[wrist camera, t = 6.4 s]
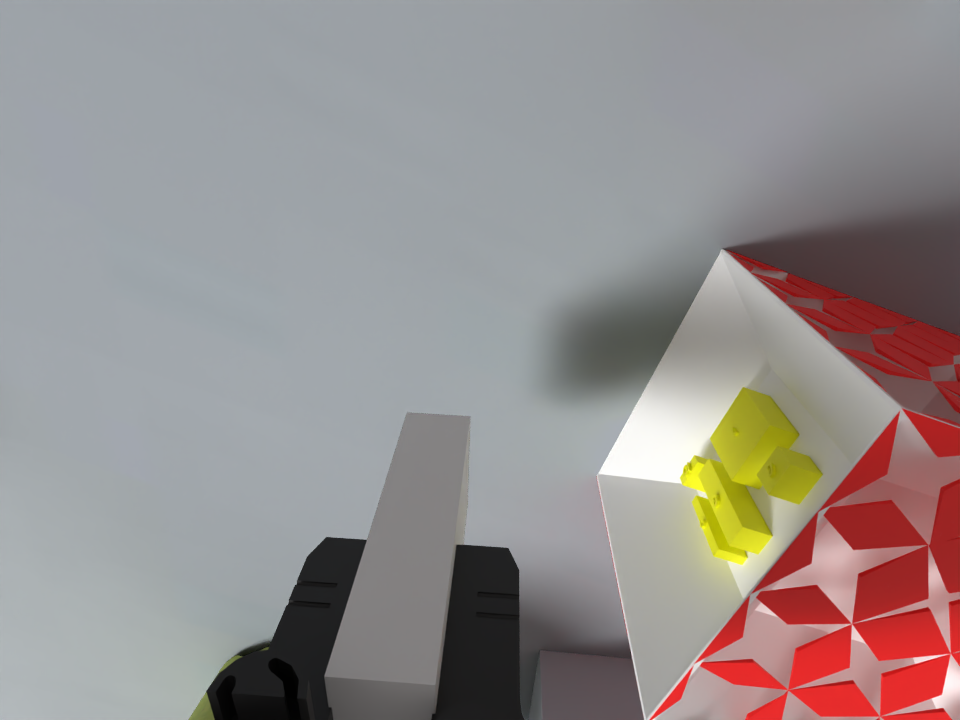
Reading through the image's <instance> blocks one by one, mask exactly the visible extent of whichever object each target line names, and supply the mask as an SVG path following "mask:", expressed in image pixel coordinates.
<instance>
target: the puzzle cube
mask: <svg viewBox="0 0 960 720" xmlns="http://www.w3.org/2000/svg"><path fill="white" fill-rule="evenodd" d="M728 251H729V250H728ZM728 251H725V250H724V249H721V252H720V254H719V256H718V258H717V259H716V261H715V263H714V265H713V267H712V268H711V270H710V272H709V274H708V276H707V278H706V279H705V281H704V283H703V285H702V287H701V288H700V290H699V292H698V294H697V296H696V297H695V299H694V301H693V303H692V305H691V307H690V308H689V310H688V312H687V314H686V316H685V317H684V319H683V321H682V323H681V325H680V327H679V328H678V330H677V332H676V334H675V336H674V337H673V339H672V341H671V343H670V345H669V346H668V348H667V350H666V352H665V354H664V356H663V357H662V359H661V361H660V363H659V365H658V366H657V368H656V370H655V372H654V374H653V375H652V377H651V379H650V381H649V383H648V385H647V386H646V388H645V390H644V392H643V394H642V395H641V397H640V399H639V401H638V403H637V404H636V406H635V408H634V410H633V412H632V414H631V415H630V417H629V419H628V421H627V423H626V424H625V426H624V428H623V430H622V432H621V433H620V435H619V437H618V439H617V441H616V443H615V444H614V446H613V448H612V450H611V452H610V453H609V455H608V457H607V459H606V461H605V463H604V464H603V466H602V468H601V470H600V472H599V473H598V474H597V476H596V477H597V482H598V487H599V493H600V498H601V503H602V508H603V513H604V517H605V523H606V529H607V534H608V539H609V544H610V549H611V554H612V559H613V565H614V570H615V575H616V580H617V585H618V590H619V595H620V601H621V606H622V611H623V616H624V621H625V626H626V631H627V636H628V640H629V645H630V650H631V655H632V660H633V665H634V670H635V675H636V681H637V686H638V691H639V696H640V701H641V706H642V711H643V716H644V720H960V336H958V335H955V334H952V333H950V332H947V331H944V330H942V329H939V328H936V327H933V326H931V325H928V324H925V323H923V322H921V321H918V320H915V319H912V318H909V317H907V316H904V315H901V314H899V313H896V312H893V311H890V310H888V309H885V308H882V307H879V306H877V305H874V304H871V303H869V302H866V301H863V300H860V299H858V298H855V297H852V296H849V295H847V294H844V293H841V292H838V291H836V290H833V289H830V288H827V287H825V286H822V285H819V284H817V283H814V282H811V281H808V280H806V279H803V278H800V277H797V276H795V275H792V274H790V273H785V272H786V271H784V270H781V269H778V268H775V267H773V266H770V265H767V264H764V263H762V262H759V261H756V260H754V259H751V258H748V257H745V256H743V255H740V254H737V253H734V252H732V251H729V252H728Z"/></svg>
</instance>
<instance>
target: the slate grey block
mask: <svg viewBox="0 0 960 720" xmlns="http://www.w3.org/2000/svg"><path fill="white" fill-rule="evenodd" d="M528 720H644V716H643V711H642V706H641V701H640V696H639V691H638V686H637V681H636V675H635V670H634V665H633V660H632V659H629V658H618V657H608V656H597V655H586V654H575V653H565V652H554V651H543V650H540V652H539V658H538V664H537V670H536V676H535V682H534V688H533V694H532V700H531V706H530V713H529V719H528Z"/></svg>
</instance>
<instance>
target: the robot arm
mask: <svg viewBox="0 0 960 720" xmlns="http://www.w3.org/2000/svg"><path fill="white" fill-rule="evenodd" d="M469 446H470V416H457V415H440V414H424V413H407V414H406V417H405V420H404V423H403V427H402V430H401V433H400V436H399V439H398V443H397V446H396V449H395V452H394V455H393V459H392V462H391V465H390V468H389V471H388V475H387V478H386V481H385V484H384V487H383V491H382V494H381V497H380V500H379V503H378V507H377V510H376V513H375V516H374V519H373V522H372V526H371V529H370V532H369V535H368V538H367V540H360V539H346V538H331V537H326V538H325V539H324V540H323V541H322V542H321V543H320V544H319V545H318V546H317V547H316V548H315V549H314V550H313V551H312V552H311V553H310V554H309V556H308V557H307V559H306V561H305V563H304V566H303V568H302V570H301V573H300V575H299V577H298V580H297V585H295V587H294V589H293V592H292V594H291V596H290V599H289V604H288V605H287V606H286V608H285V611H284V613H283V615H282V618H281V620H280V622H279V625H278V627H277V629H276V632H275V634H274V637H273V639H272V641H271V644H270V646H269V648H268V650H262V651H255V652H253V653H250V654H248V655H245V656H243V657H241V658H238V659H236V660H235V661H234V662H232V663H231V664H230V665H229V666H227V667H226V668H225V669H224V670H222V671H221V672H220V673H219V674H218V675H217V677H216V678H215V680H214V681H213V682H212V684H211V685H210V687H209V688H208V690H207V691H206V692H207V695H208V699H209V702H210V705H211V709H212V712H213V716H214V719H215V720H524V718H523V715H522V713H521V705H520V671H519V569H518V567H517V565H516V563H515V561H514V559H513V557H512V555H511V553H510V551H509V549H508V548H501V547H486V546H472V545H463V543H464V534H465V525H466V516H467V507H468V477H469Z"/></svg>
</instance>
